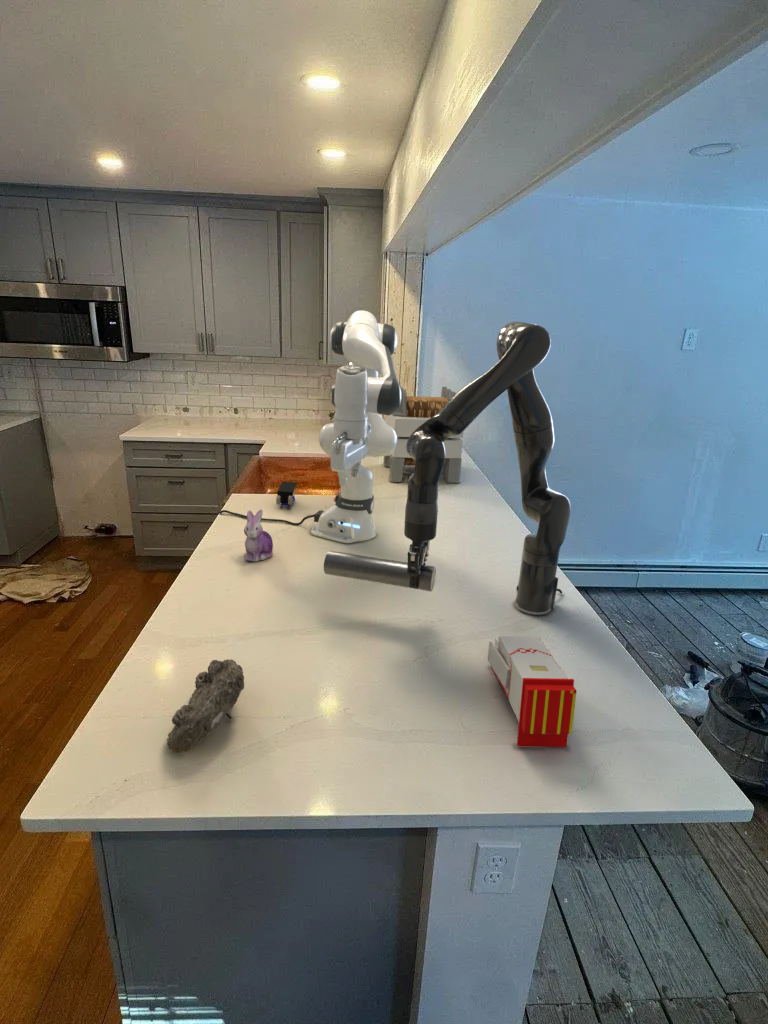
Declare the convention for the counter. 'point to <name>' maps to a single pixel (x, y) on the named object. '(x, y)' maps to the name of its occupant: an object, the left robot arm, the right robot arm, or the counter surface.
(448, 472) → the transformer
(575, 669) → the counter surface
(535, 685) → the toy
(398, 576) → the rod
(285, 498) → the figurine character
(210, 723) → the fossil
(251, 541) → the figurine
